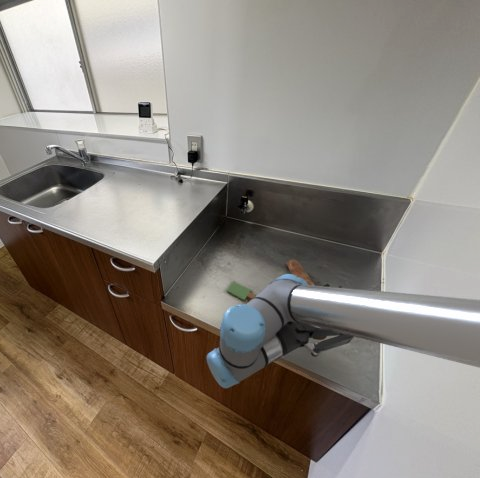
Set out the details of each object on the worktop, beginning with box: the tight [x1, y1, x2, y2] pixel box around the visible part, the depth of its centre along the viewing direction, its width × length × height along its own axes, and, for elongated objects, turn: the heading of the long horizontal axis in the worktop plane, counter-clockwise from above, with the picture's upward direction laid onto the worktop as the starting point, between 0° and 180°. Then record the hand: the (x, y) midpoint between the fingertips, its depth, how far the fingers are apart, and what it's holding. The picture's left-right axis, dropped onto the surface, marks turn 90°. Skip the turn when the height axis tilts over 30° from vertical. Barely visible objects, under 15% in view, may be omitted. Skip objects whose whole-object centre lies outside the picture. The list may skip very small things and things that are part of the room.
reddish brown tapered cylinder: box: [286, 258, 317, 286], centre depth 89 cm, size 6×19×6 cm, turn 177°
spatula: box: [226, 281, 257, 302], centre depth 88 cm, size 18×5×1 cm, turn 49°
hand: (343, 300), depth 62 cm, fingers closed on kendama, 8 cm apart
